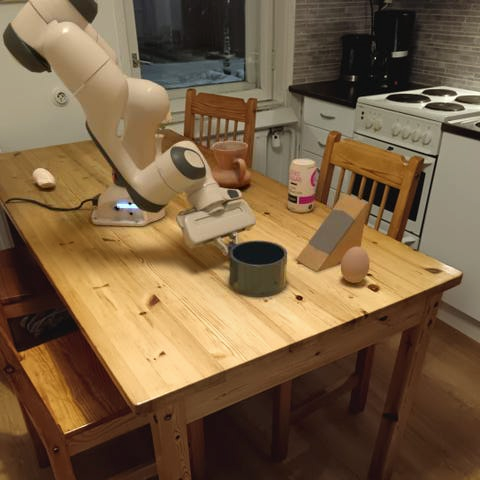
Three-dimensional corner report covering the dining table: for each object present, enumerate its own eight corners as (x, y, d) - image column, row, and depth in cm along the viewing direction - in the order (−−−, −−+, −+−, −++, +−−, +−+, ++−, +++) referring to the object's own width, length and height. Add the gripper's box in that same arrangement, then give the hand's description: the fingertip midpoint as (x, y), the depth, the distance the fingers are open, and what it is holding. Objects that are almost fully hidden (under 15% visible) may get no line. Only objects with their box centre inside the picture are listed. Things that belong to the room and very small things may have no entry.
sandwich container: (294, 259, 131) (298, 204, 123) (337, 245, 139) (343, 192, 130) (316, 272, 126) (321, 215, 117) (359, 256, 133) (368, 202, 124)
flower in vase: (162, 179, 185) (156, 107, 171) (139, 174, 190) (131, 103, 176) (184, 170, 194) (180, 101, 180) (161, 165, 199) (155, 98, 185)
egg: (348, 290, 118) (353, 255, 113) (333, 278, 123) (337, 244, 118) (372, 285, 120) (378, 250, 115) (356, 273, 125) (361, 239, 120)
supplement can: (315, 205, 163) (319, 159, 155) (309, 215, 157) (313, 167, 148) (291, 202, 165) (293, 156, 157) (284, 211, 159) (287, 164, 150)
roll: (42, 194, 172) (39, 178, 169) (34, 184, 180) (30, 168, 177) (60, 191, 175) (57, 175, 171) (51, 181, 183) (47, 166, 180)
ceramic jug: (202, 181, 183) (201, 141, 175) (238, 175, 188) (238, 136, 181) (223, 197, 170) (222, 154, 162) (261, 190, 175) (262, 149, 167)
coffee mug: (297, 284, 120) (299, 254, 116) (254, 303, 113) (255, 271, 109) (249, 258, 132) (250, 230, 127) (208, 274, 125) (207, 244, 120)
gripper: (177, 207, 118) (203, 259, 117) (245, 188, 128) (269, 236, 127) (168, 219, 123) (193, 269, 122) (234, 200, 134) (257, 246, 133)
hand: (232, 252), depth 125 cm, fingers closed on coffee mug
